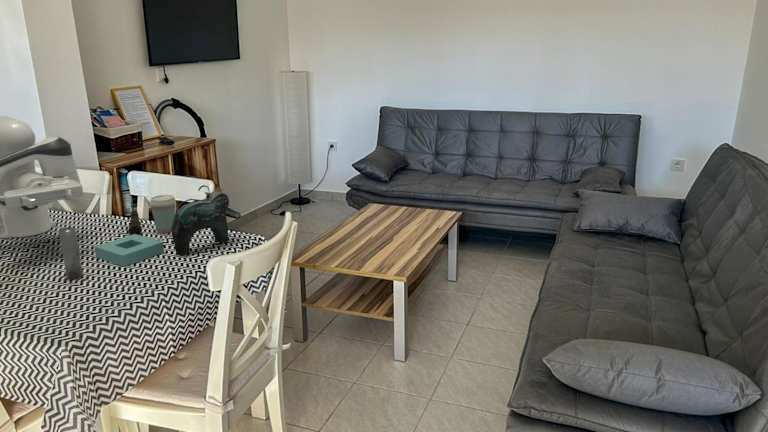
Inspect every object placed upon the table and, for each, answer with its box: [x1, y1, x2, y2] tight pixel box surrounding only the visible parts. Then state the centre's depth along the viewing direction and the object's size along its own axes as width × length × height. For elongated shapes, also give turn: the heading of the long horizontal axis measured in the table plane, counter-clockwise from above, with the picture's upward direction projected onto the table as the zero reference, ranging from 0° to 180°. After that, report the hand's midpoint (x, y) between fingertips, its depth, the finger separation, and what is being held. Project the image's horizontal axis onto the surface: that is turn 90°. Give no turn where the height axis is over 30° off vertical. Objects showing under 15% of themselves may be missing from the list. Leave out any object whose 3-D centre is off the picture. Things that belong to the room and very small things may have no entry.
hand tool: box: [128, 209, 142, 236], centre depth 204 cm, size 19×4×5 cm, turn 20°
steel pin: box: [58, 226, 84, 281], centre depth 161 cm, size 4×4×14 cm
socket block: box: [94, 234, 165, 268], centre depth 179 cm, size 14×14×4 cm
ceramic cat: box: [171, 184, 230, 257], centre depth 183 cm, size 20×6×20 cm, turn 141°
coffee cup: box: [149, 194, 177, 234], centre depth 200 cm, size 8×9×12 cm
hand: (51, 199), depth 166 cm, fingers open, 8 cm apart
